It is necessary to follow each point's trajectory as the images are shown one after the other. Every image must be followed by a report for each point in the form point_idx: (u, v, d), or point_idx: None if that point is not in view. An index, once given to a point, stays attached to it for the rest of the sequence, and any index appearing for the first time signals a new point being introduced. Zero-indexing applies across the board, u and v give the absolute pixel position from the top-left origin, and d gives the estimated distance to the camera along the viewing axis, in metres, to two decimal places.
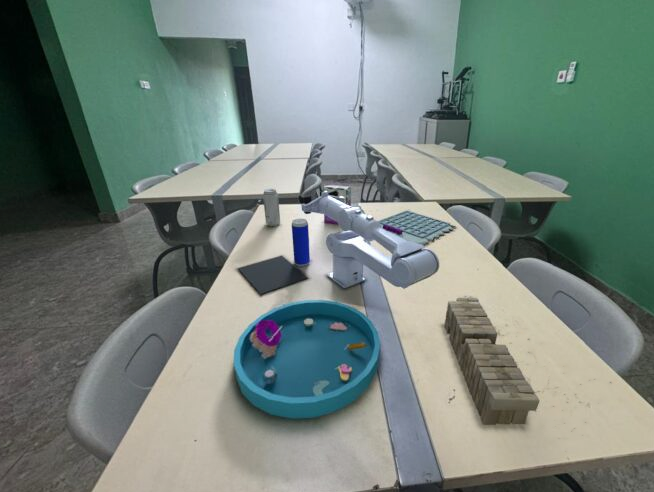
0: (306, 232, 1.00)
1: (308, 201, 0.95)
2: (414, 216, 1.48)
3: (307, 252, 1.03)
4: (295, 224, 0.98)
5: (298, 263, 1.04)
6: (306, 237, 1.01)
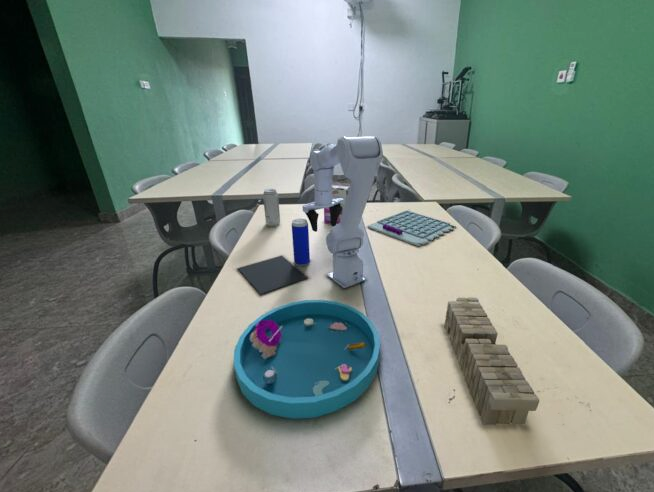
0: (306, 232, 1.00)
1: None
2: (414, 216, 1.48)
3: (307, 252, 1.03)
4: (295, 224, 0.98)
5: (298, 263, 1.04)
6: (306, 237, 1.01)
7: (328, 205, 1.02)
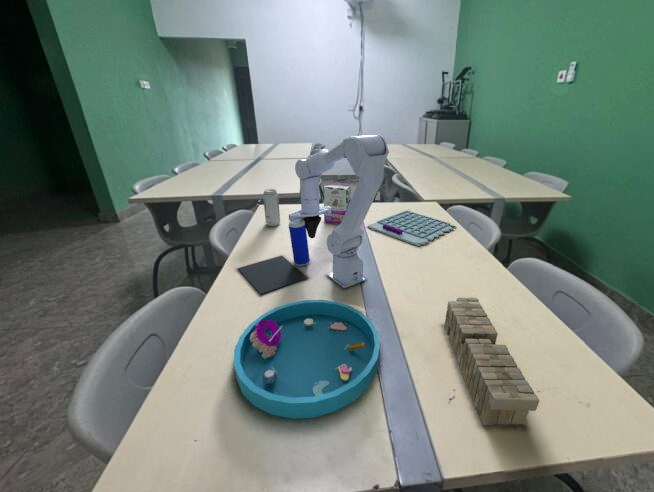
0: (304, 232, 1.00)
1: None
2: (414, 216, 1.48)
3: (306, 252, 1.03)
4: (292, 225, 0.98)
5: (298, 263, 1.04)
6: (304, 237, 1.00)
7: (315, 214, 0.99)
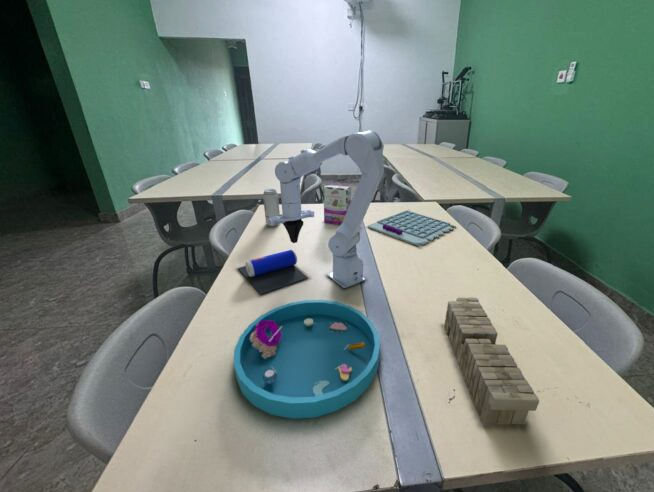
0: (261, 266, 0.95)
1: None
2: (414, 216, 1.48)
3: (283, 260, 0.99)
4: (251, 276, 0.95)
5: None
6: (267, 265, 0.96)
7: (296, 218, 0.96)
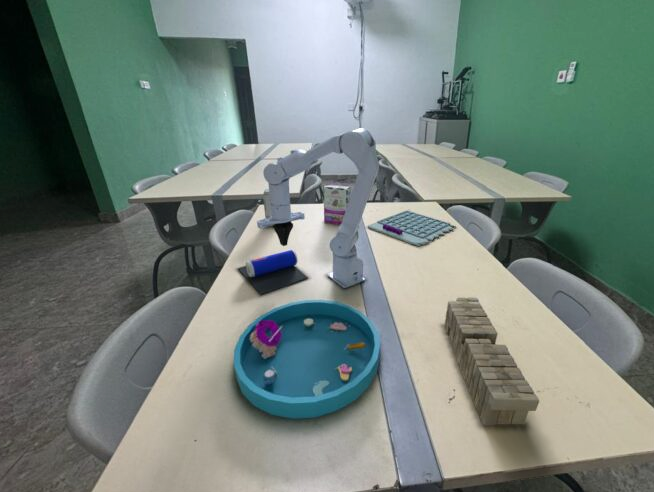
0: (261, 267, 0.95)
1: None
2: (414, 216, 1.48)
3: (284, 261, 0.99)
4: (251, 276, 0.95)
5: (293, 265, 1.03)
6: (267, 266, 0.96)
7: (285, 220, 0.94)
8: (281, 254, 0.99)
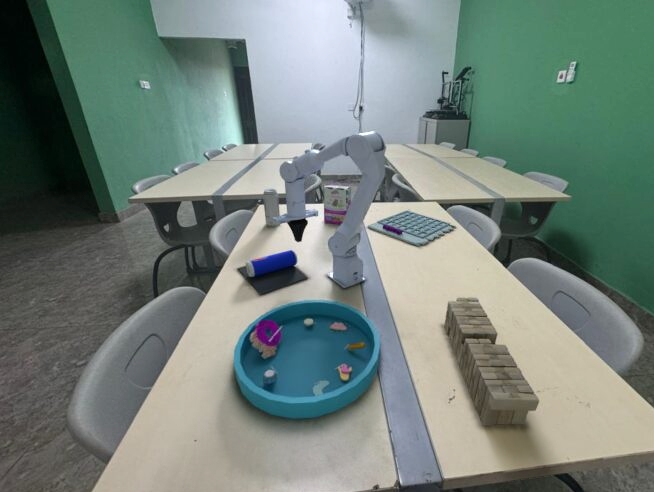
0: (261, 267, 0.95)
1: None
2: (414, 216, 1.48)
3: (284, 261, 0.99)
4: (251, 276, 0.95)
5: (293, 265, 1.03)
6: (267, 266, 0.96)
7: (301, 217, 0.96)
8: (281, 254, 0.99)
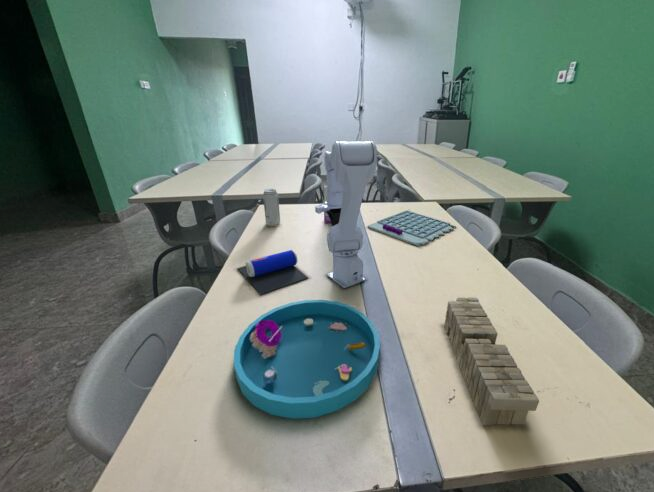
0: (261, 267, 0.95)
1: None
2: (414, 216, 1.48)
3: (284, 261, 0.99)
4: (251, 276, 0.95)
5: (293, 265, 1.03)
6: (267, 266, 0.96)
7: (340, 206, 1.01)
8: (281, 254, 0.99)
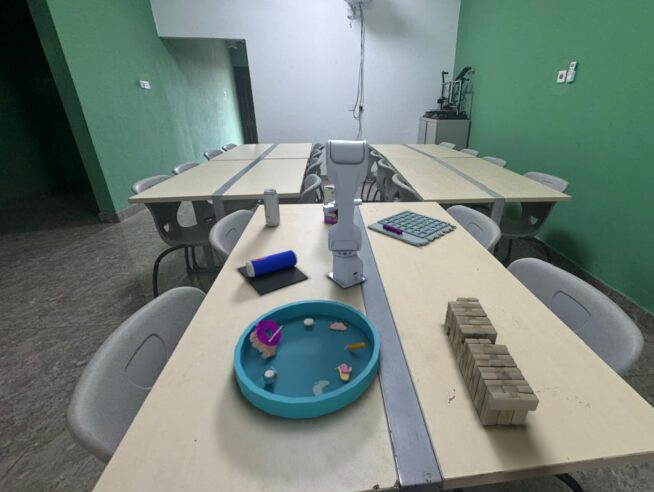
0: (261, 267, 0.95)
1: None
2: (414, 216, 1.48)
3: (284, 261, 0.99)
4: (251, 276, 0.95)
5: (293, 265, 1.03)
6: (267, 266, 0.96)
7: None
8: (281, 254, 0.99)
